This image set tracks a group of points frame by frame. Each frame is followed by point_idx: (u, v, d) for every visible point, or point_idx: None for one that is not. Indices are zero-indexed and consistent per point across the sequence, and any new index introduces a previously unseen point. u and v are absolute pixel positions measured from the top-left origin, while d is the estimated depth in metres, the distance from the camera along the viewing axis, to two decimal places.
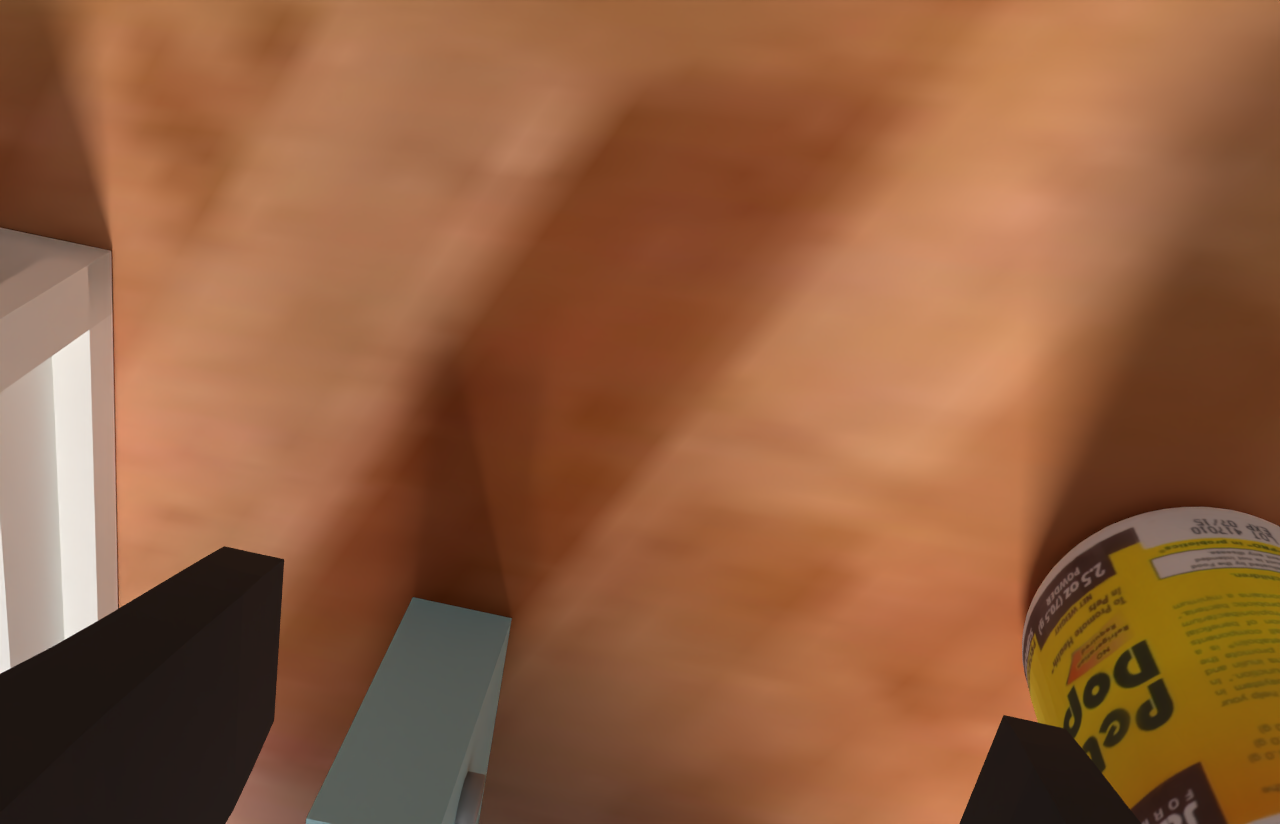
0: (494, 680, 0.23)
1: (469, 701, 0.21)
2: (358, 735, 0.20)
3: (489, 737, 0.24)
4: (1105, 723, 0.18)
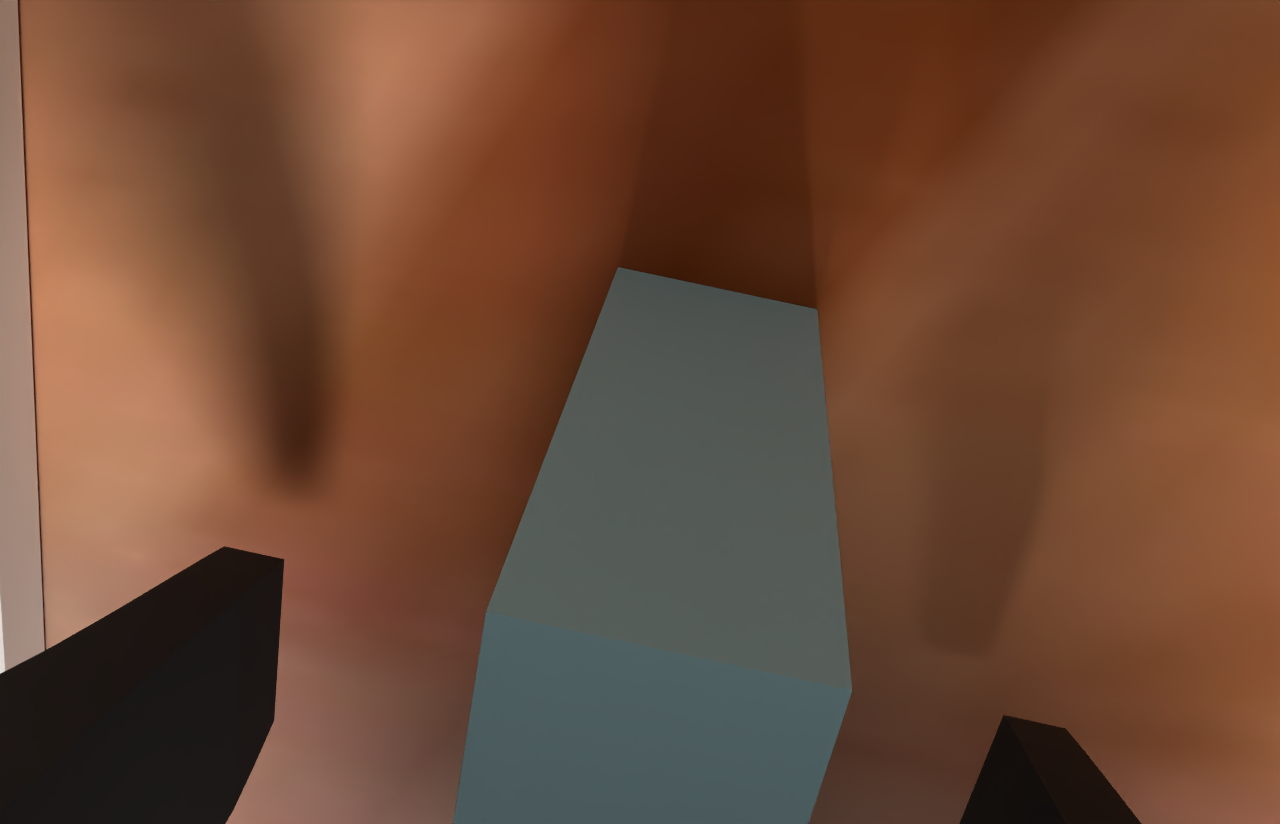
0: None
1: (796, 415, 0.09)
2: (575, 454, 0.08)
3: None
4: None
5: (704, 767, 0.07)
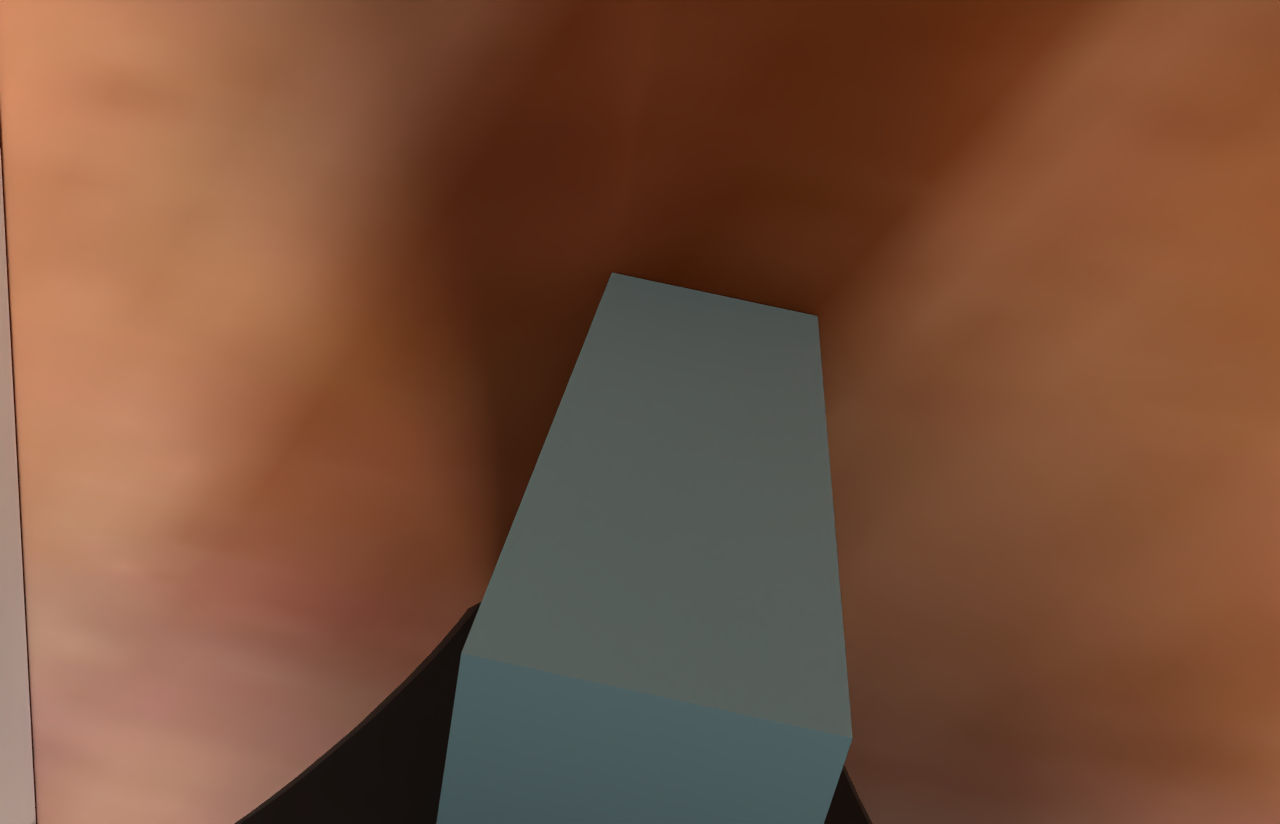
0: None
1: (794, 433, 0.09)
2: (562, 477, 0.08)
3: None
4: None
5: (695, 817, 0.06)
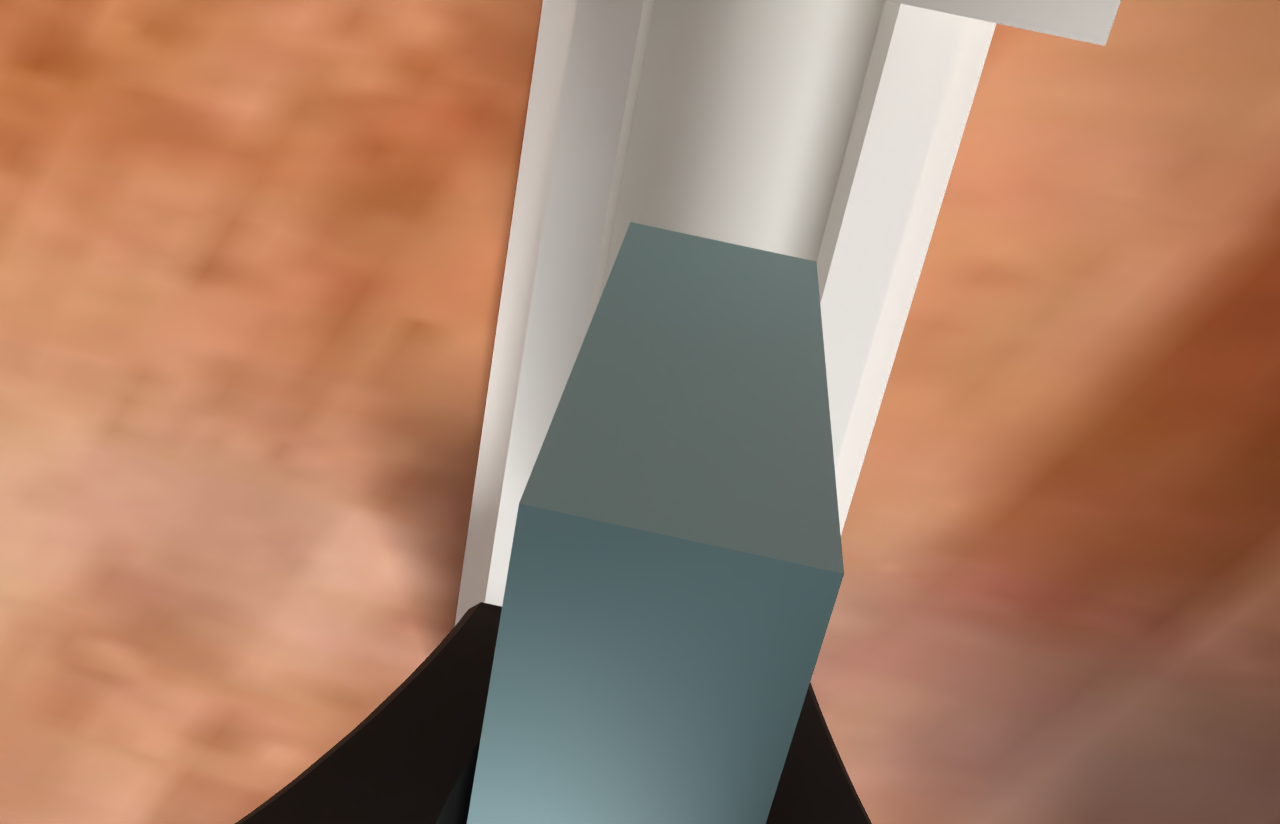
0: None
1: (797, 353, 0.10)
2: (594, 380, 0.09)
3: None
4: None
5: (713, 647, 0.08)
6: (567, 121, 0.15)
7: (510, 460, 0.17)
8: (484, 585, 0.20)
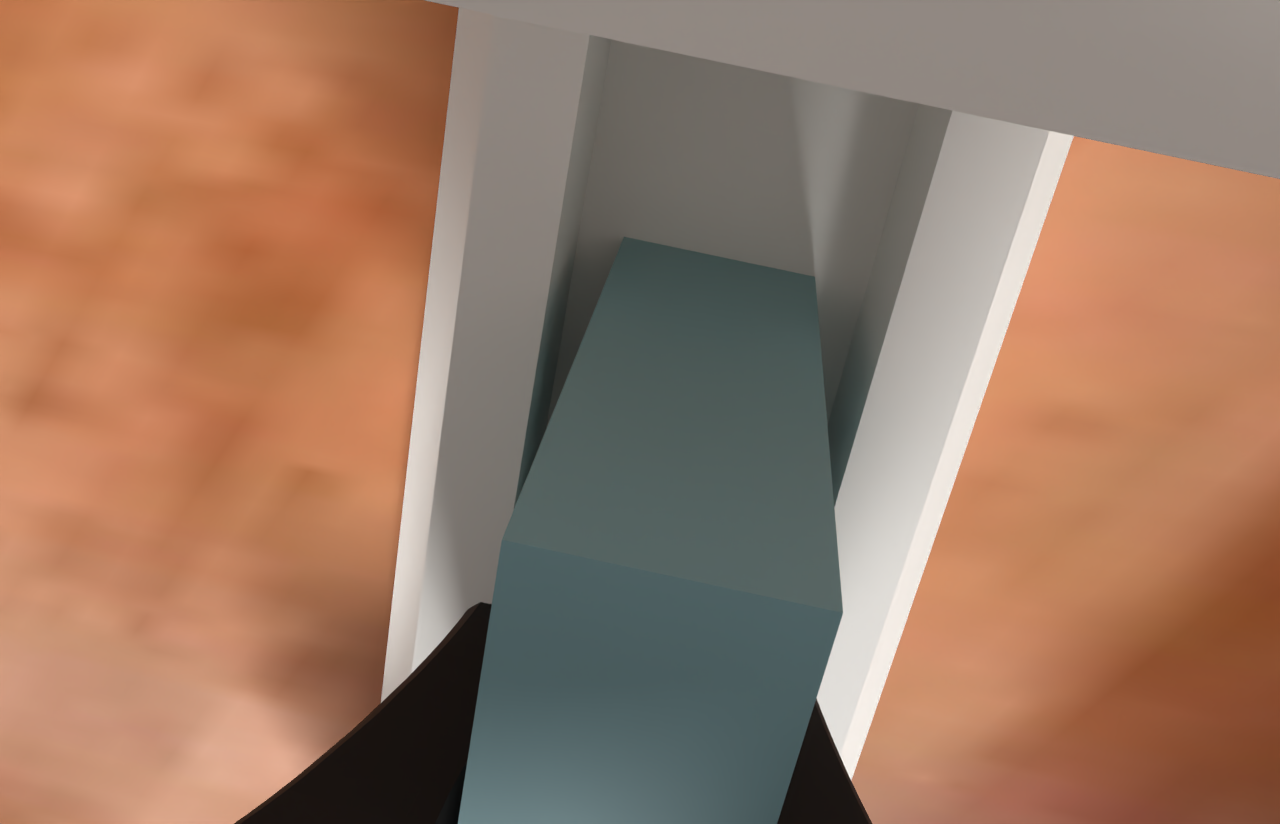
0: None
1: (794, 374, 0.10)
2: (583, 405, 0.09)
3: None
4: None
5: (706, 687, 0.07)
6: (477, 242, 0.11)
7: None
8: None
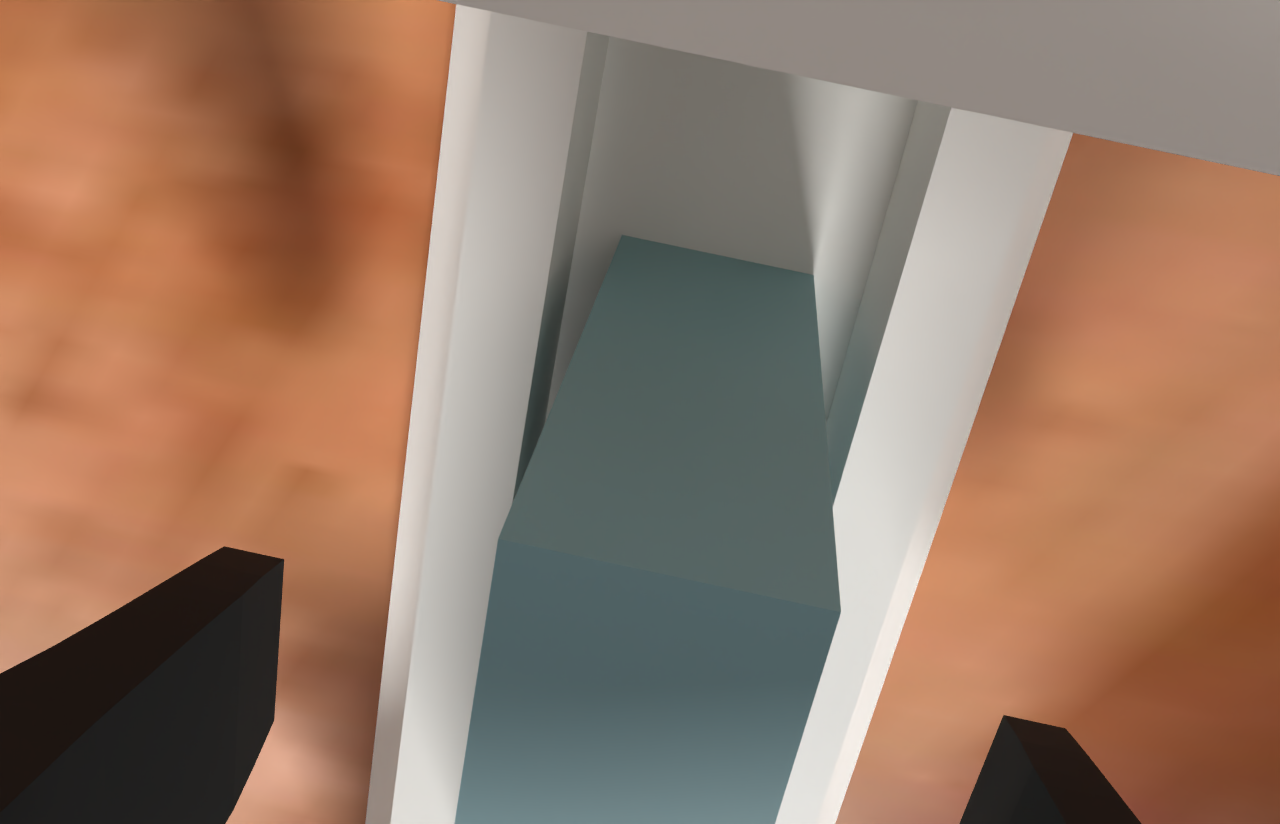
0: None
1: (793, 373, 0.10)
2: (581, 404, 0.09)
3: None
4: None
5: (703, 688, 0.07)
6: (475, 240, 0.11)
7: (413, 682, 0.13)
8: None
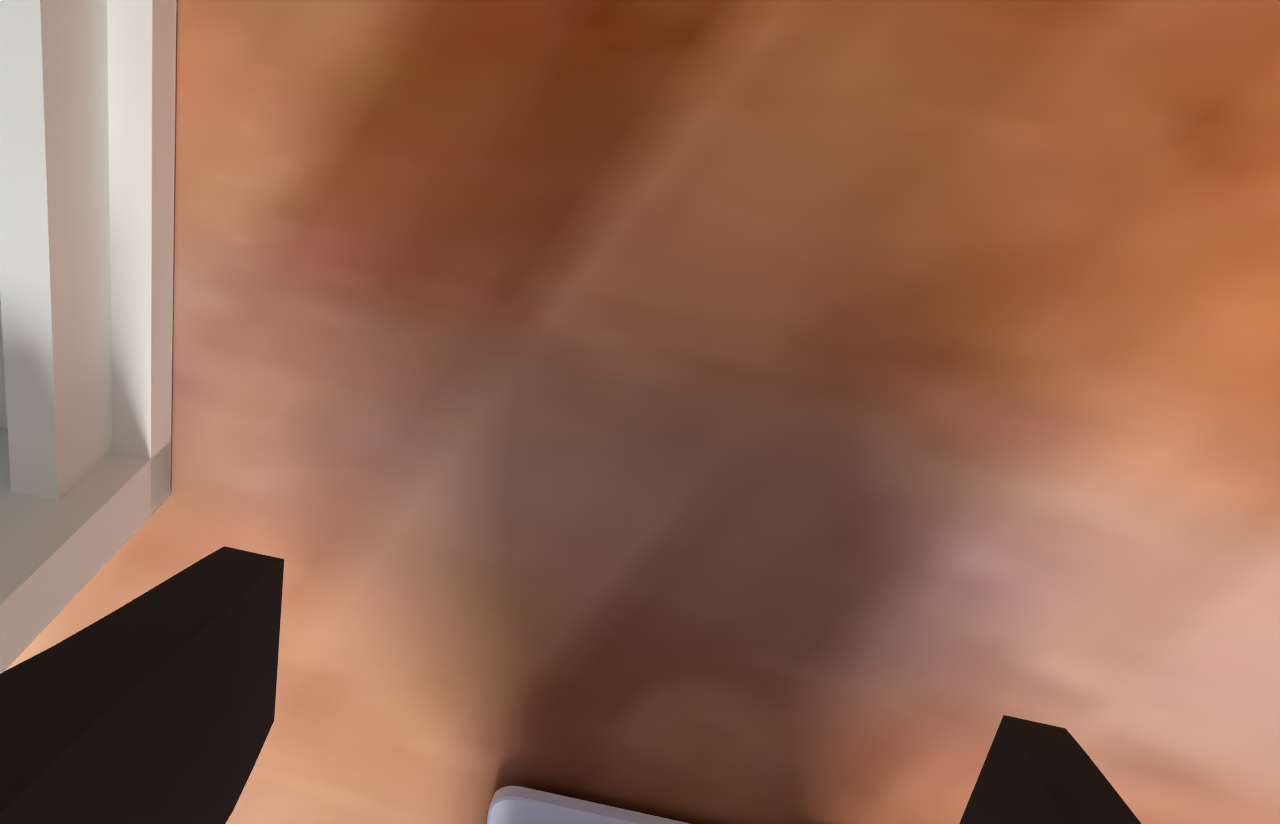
0: None
1: None
2: None
3: None
4: None
5: None
6: None
7: None
8: None
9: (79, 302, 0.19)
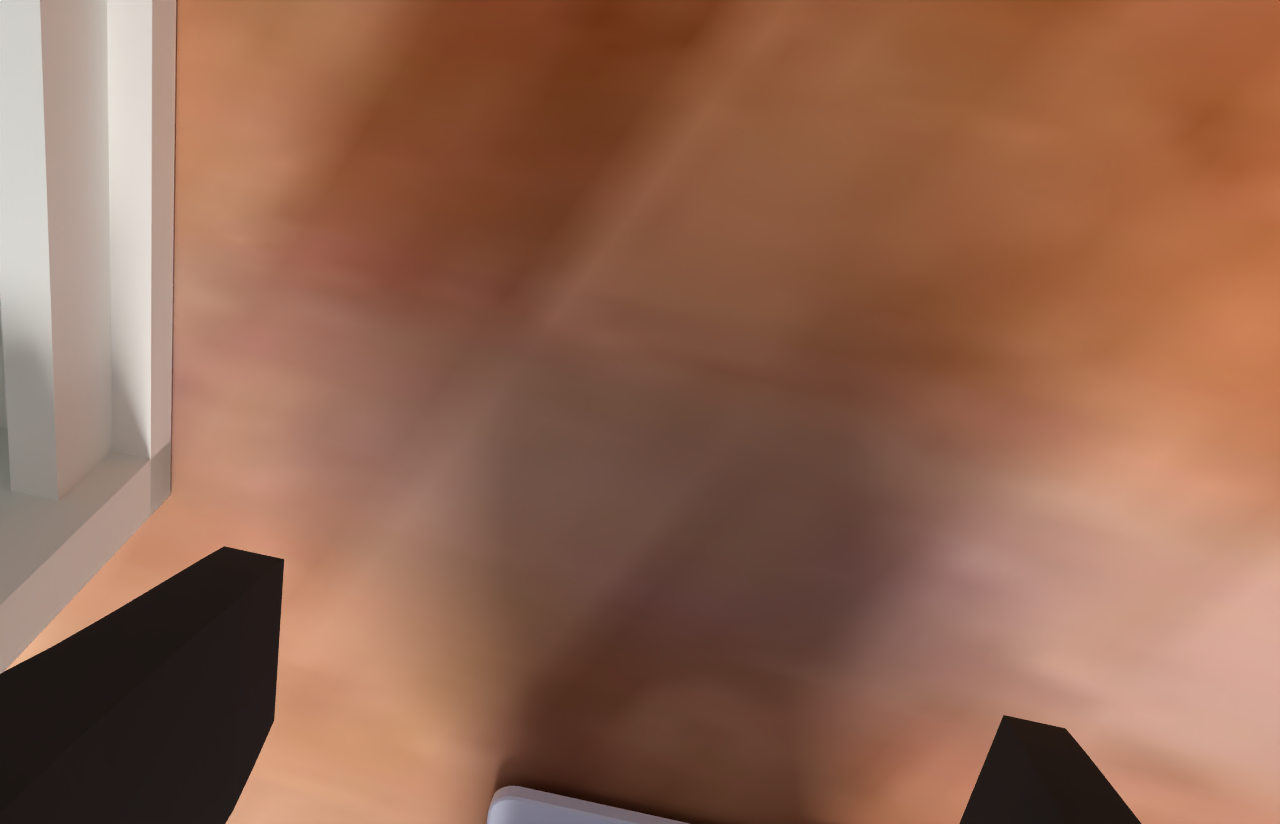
0: None
1: None
2: None
3: None
4: None
5: None
6: None
7: None
8: None
9: (79, 302, 0.19)
